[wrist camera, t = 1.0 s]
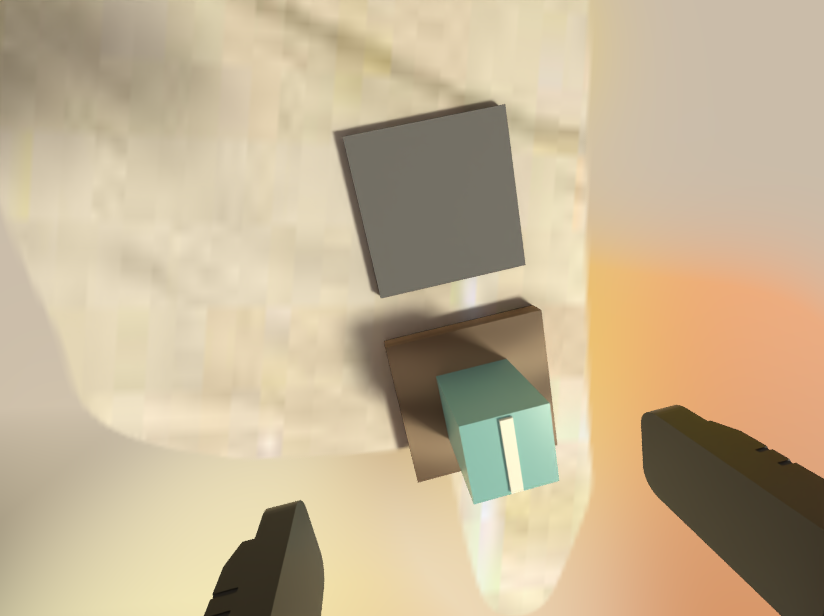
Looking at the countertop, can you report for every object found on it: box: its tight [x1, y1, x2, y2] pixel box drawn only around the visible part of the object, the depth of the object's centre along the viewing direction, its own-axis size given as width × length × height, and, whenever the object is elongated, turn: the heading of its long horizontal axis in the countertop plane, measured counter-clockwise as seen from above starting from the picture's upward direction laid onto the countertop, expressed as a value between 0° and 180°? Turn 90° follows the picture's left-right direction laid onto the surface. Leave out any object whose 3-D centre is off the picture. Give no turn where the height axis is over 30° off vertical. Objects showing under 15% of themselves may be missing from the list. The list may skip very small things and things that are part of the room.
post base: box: [384, 305, 557, 482], centre depth 28 cm, size 12×12×7 cm
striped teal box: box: [436, 359, 559, 504], centre depth 26 cm, size 6×6×7 cm
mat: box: [343, 104, 525, 298], centre depth 27 cm, size 11×11×1 cm
